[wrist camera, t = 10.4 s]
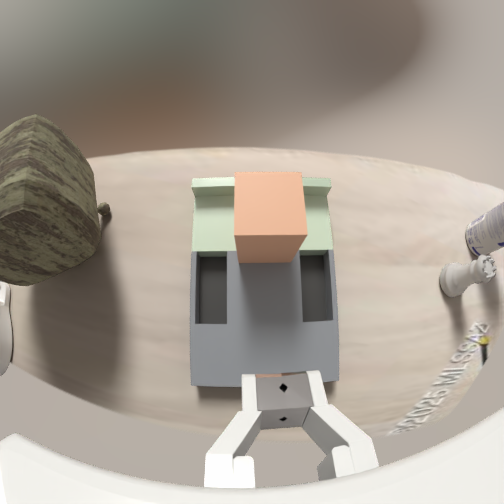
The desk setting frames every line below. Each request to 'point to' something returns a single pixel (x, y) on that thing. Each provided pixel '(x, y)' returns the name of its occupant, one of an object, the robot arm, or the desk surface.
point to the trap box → (260, 295)
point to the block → (269, 216)
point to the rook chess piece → (466, 275)
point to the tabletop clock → (44, 203)
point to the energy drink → (486, 232)
